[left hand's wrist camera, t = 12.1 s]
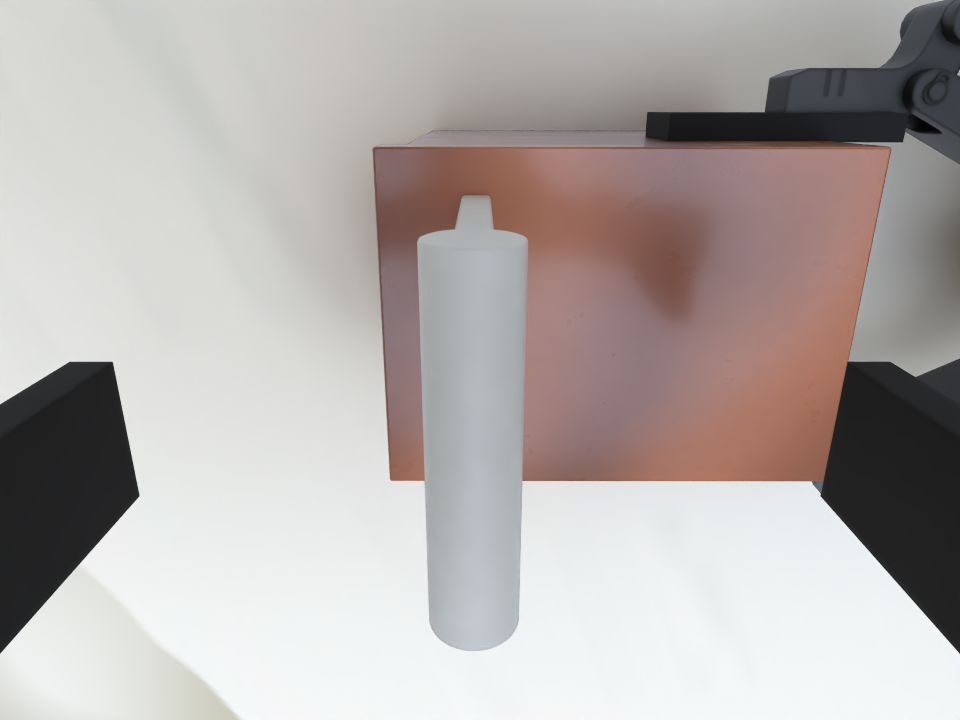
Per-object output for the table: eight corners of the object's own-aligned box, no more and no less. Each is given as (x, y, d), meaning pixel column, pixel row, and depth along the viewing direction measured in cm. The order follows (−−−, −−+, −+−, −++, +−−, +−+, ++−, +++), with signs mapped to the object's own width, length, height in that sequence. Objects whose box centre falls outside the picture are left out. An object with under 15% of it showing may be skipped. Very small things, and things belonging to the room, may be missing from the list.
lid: (394, 463, 20) (337, 694, 12) (378, 144, 17) (288, 177, 9) (807, 463, 20) (1019, 695, 12) (868, 144, 17) (1210, 177, 9)
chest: (436, 346, 30) (414, 462, 20) (431, 130, 27) (402, 144, 17) (699, 345, 30) (806, 462, 20) (725, 130, 27) (867, 144, 17)
